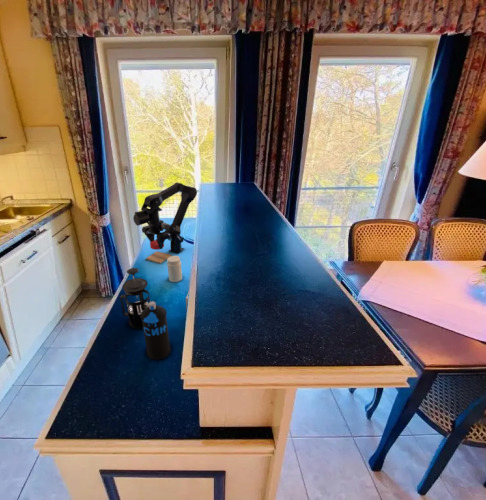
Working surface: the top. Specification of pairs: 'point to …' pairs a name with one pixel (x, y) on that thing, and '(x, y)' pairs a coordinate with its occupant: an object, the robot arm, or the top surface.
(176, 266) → the jar
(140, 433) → the top surface
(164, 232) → the robot arm
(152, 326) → the aerosol can
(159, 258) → the cork mat
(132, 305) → the french press
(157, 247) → the lid
